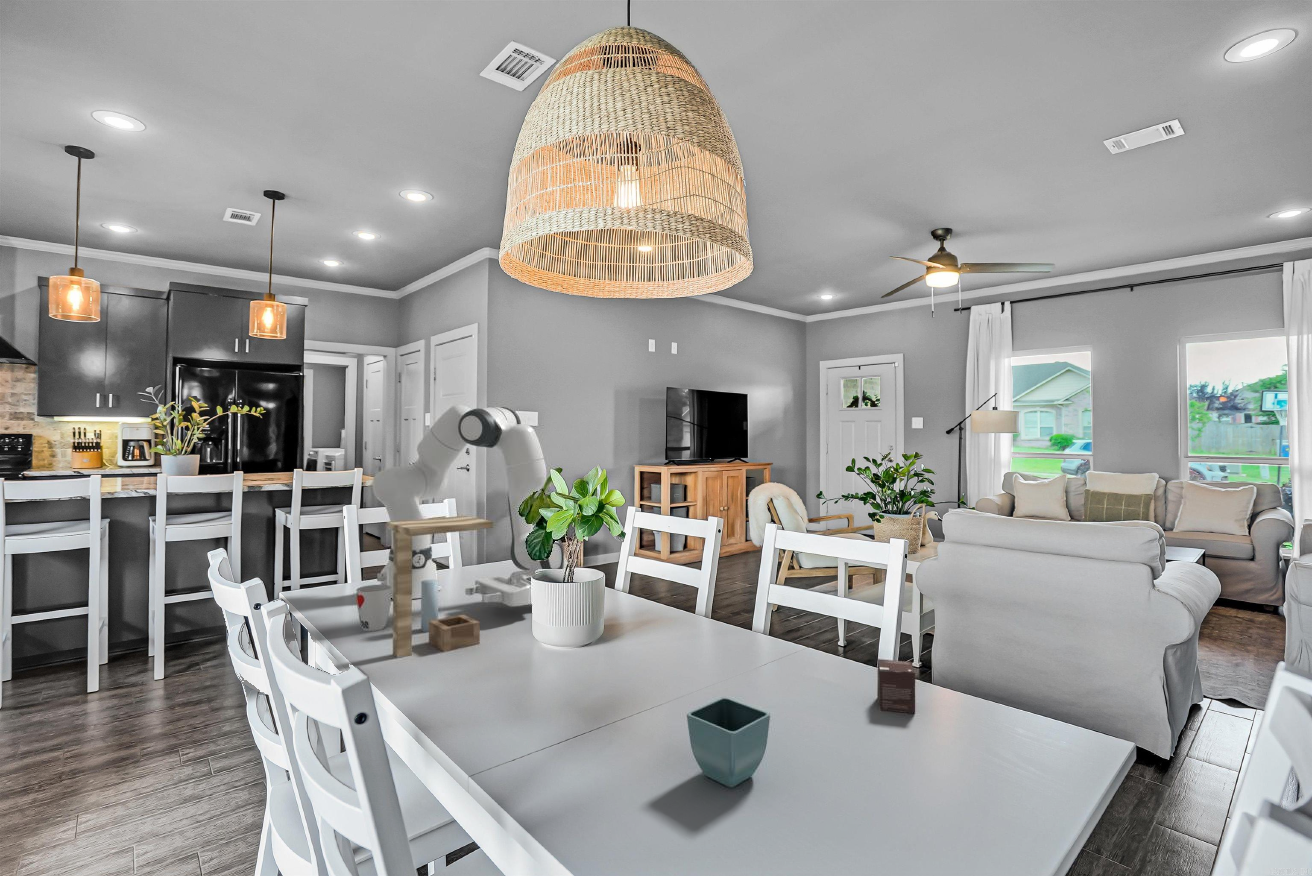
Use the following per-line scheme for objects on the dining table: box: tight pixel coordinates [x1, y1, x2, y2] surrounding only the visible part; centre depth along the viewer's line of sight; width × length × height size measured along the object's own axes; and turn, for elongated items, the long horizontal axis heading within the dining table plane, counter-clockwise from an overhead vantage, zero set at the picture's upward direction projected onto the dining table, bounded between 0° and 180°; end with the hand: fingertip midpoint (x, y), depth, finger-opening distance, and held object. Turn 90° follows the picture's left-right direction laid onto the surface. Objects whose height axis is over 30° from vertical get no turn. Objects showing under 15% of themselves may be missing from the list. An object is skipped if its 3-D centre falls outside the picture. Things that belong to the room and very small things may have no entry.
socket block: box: [428, 614, 481, 653], centre depth 149 cm, size 8×8×5 cm
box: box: [876, 658, 916, 714], centre depth 116 cm, size 6×6×7 cm
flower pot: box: [686, 696, 771, 788], centre depth 92 cm, size 9×9×9 cm
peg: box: [420, 579, 439, 633], centre depth 159 cm, size 4×4×12 cm
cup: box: [356, 584, 392, 632], centre depth 160 cm, size 8×8×10 cm
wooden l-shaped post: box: [386, 515, 494, 659], centre depth 147 cm, size 14×20×28 cm
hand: (474, 595), depth 167 cm, fingers open, 8 cm apart
